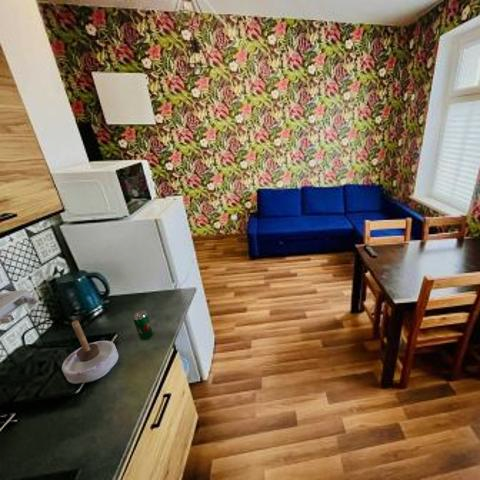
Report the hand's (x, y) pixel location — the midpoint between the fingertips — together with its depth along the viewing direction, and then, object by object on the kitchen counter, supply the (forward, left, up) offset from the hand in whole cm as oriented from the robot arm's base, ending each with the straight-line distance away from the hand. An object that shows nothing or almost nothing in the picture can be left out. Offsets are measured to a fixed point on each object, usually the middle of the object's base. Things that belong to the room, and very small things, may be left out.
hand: (24, 309), depth 86 cm
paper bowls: (+12, -2, -30) cm, 32 cm away
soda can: (+26, +12, -30) cm, 41 cm away
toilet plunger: (+12, -2, -22) cm, 25 cm away
